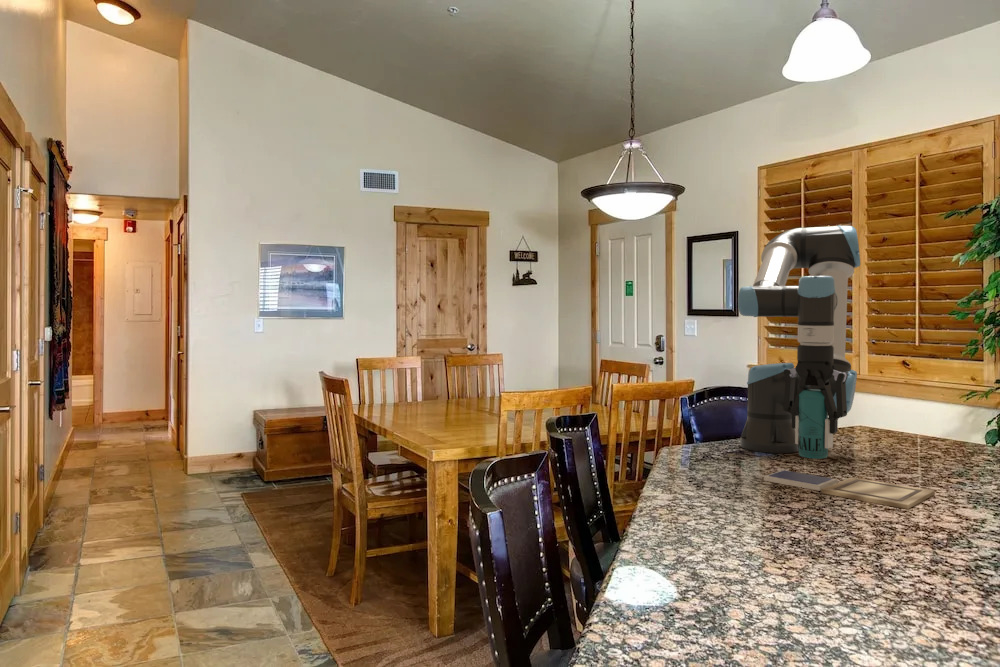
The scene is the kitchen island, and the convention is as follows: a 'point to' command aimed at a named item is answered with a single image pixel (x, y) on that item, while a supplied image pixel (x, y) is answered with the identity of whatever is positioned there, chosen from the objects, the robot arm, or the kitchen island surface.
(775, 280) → the robot arm
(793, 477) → the ink pad
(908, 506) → the mark board
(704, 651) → the kitchen island surface
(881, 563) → the kitchen island surface
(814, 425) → the beverage bottle
